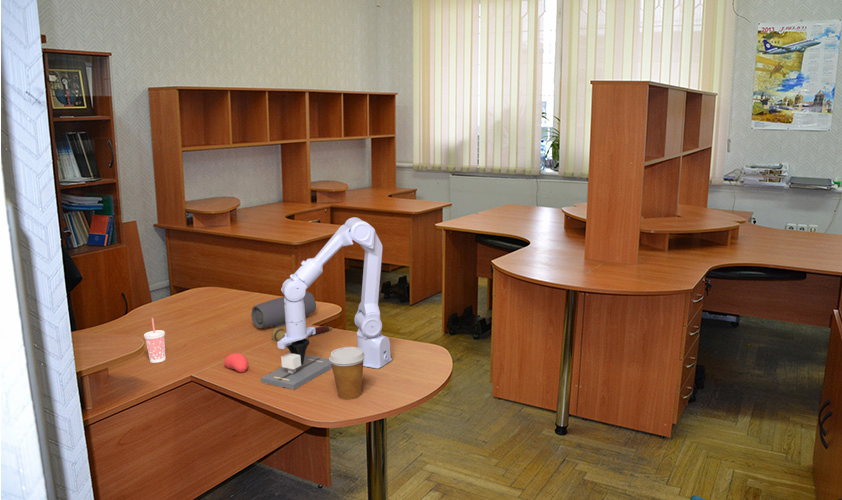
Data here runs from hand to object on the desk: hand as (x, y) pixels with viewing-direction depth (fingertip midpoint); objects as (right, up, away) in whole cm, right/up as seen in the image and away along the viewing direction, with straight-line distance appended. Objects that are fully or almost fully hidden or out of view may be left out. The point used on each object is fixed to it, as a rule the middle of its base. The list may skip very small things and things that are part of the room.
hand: (299, 364), depth 189 cm
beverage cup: (-48, -2, +17) cm, 51 cm away
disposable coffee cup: (+16, -6, -15) cm, 23 cm away
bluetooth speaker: (-14, +6, +49) cm, 51 cm away
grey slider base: (0, -3, +1) cm, 3 cm away
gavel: (-4, +3, +33) cm, 34 cm away
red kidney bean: (-20, -3, +6) cm, 21 cm away
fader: (-2, -2, -3) cm, 3 cm away
